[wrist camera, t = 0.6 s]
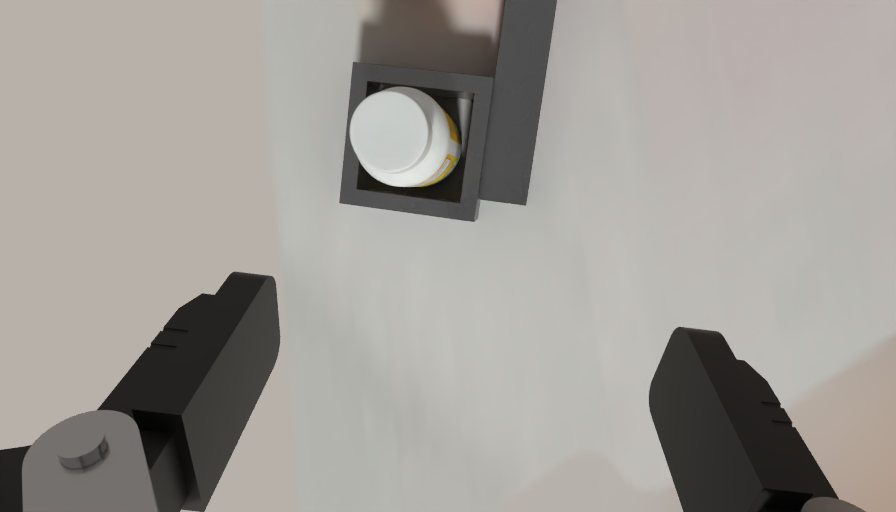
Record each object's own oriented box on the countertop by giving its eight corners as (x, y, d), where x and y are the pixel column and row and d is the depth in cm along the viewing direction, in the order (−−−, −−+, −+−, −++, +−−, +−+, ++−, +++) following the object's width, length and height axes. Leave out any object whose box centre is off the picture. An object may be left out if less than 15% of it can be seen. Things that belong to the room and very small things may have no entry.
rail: (388, -140, 34) (375, -170, 31) (575, -127, 32) (580, -158, 29) (353, 201, 37) (339, 202, 34) (522, 224, 36) (522, 228, 33)
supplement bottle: (454, 193, 36) (431, 197, 26) (377, 178, 36) (327, 177, 27) (469, 111, 35) (451, 86, 26) (390, 97, 36) (344, 67, 26)
